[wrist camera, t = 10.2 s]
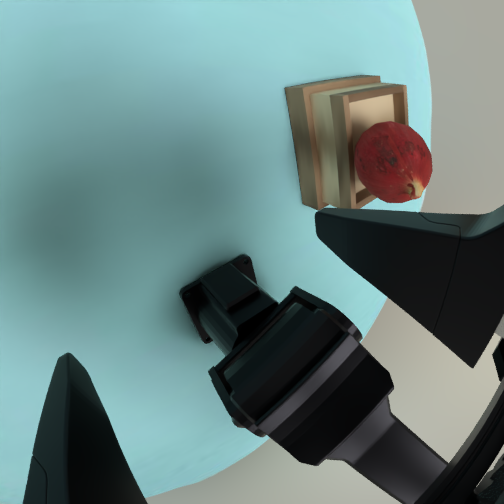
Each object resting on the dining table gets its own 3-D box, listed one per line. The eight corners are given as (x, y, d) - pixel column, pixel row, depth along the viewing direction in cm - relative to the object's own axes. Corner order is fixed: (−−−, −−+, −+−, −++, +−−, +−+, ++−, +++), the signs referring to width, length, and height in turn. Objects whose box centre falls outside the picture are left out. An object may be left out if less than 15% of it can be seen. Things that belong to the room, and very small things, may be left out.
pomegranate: (328, 138, 22) (356, 184, 16) (383, 96, 20) (433, 126, 13) (368, 187, 25) (401, 244, 19) (418, 150, 22) (466, 196, 16)
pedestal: (370, 168, 31) (410, 181, 27) (302, 203, 27) (346, 223, 23) (363, 75, 25) (408, 78, 21) (284, 87, 21) (335, 88, 17)
